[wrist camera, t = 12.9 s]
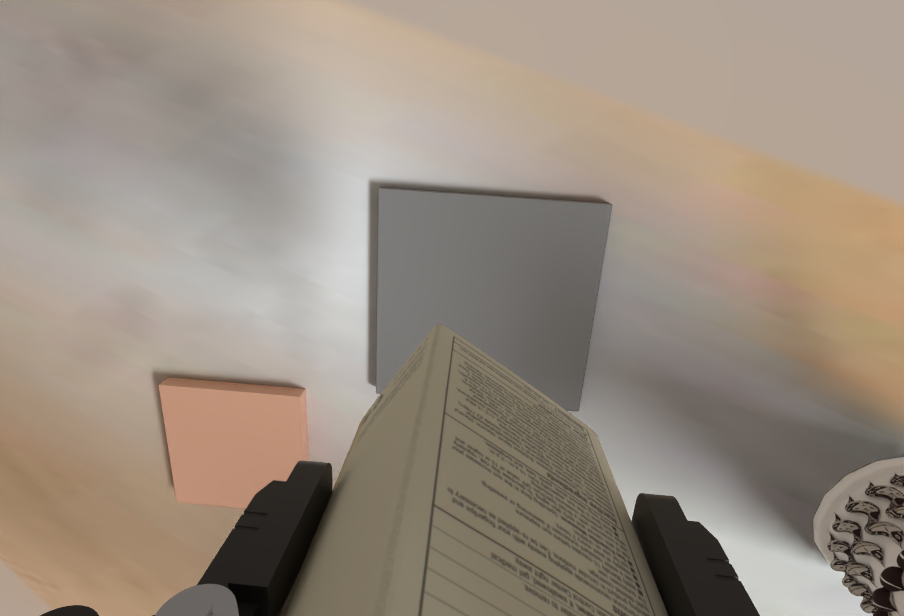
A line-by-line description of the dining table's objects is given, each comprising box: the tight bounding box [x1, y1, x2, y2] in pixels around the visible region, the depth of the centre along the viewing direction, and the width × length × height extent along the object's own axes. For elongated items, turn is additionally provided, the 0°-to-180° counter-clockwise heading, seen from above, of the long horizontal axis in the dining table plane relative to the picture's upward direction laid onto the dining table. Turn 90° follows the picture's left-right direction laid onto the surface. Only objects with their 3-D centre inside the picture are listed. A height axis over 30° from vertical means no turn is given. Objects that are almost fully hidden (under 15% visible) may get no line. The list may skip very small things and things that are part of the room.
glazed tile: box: [159, 377, 309, 509], centre depth 30 cm, size 1×8×8 cm
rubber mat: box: [376, 187, 612, 411], centre depth 26 cm, size 11×11×1 cm
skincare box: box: [282, 324, 668, 616], centre depth 10 cm, size 6×4×12 cm
